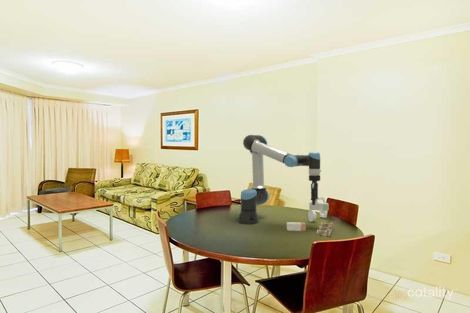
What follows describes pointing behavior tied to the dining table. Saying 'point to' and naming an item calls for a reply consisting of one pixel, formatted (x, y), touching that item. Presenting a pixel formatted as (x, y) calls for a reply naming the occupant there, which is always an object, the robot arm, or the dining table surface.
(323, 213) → the headset
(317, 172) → the robot arm
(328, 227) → the comb rack
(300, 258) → the dining table surface
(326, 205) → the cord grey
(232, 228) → the dining table surface
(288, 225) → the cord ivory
